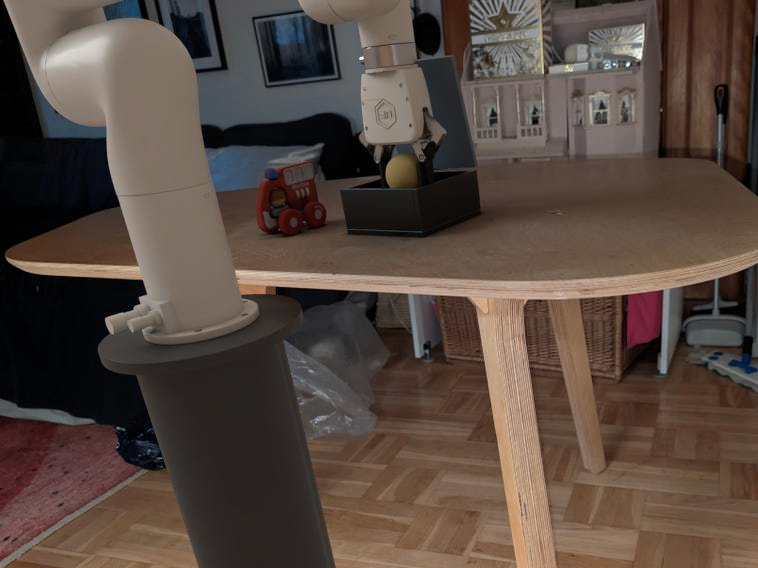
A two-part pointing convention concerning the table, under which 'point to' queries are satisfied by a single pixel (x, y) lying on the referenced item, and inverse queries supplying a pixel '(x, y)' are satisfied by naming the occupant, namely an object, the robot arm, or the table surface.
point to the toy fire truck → (289, 199)
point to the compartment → (411, 205)
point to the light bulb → (402, 171)
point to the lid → (447, 114)
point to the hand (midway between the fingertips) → (408, 186)
